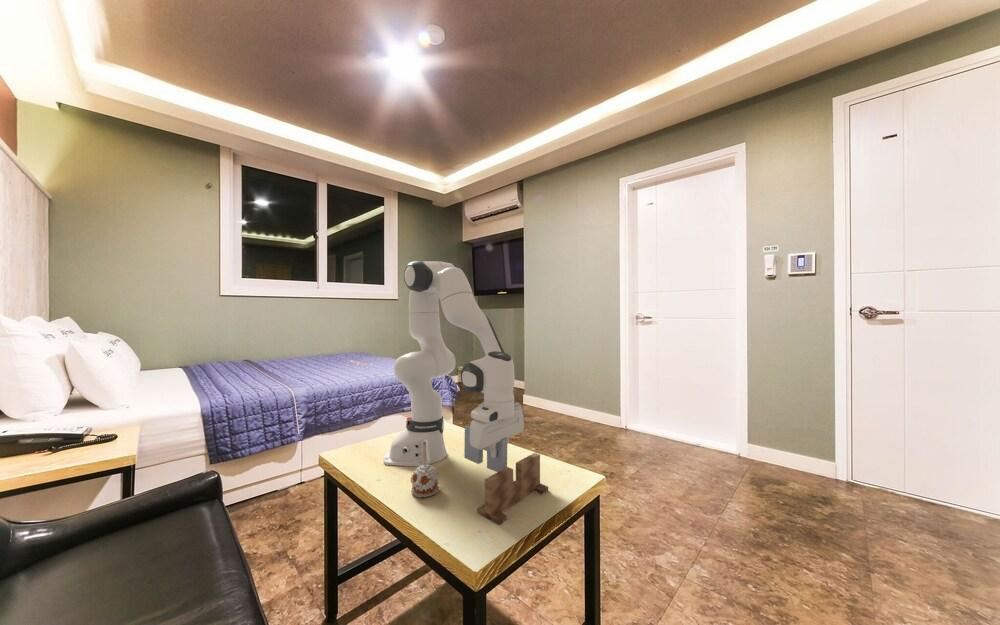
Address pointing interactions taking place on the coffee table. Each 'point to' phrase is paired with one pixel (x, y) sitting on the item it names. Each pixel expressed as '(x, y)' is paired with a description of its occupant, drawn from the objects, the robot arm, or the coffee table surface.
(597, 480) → the coffee table surface
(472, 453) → the grey plate
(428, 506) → the coffee table surface
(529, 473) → the walnut crosspiece
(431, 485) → the decorative ornament
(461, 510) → the coffee table surface
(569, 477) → the coffee table surface
